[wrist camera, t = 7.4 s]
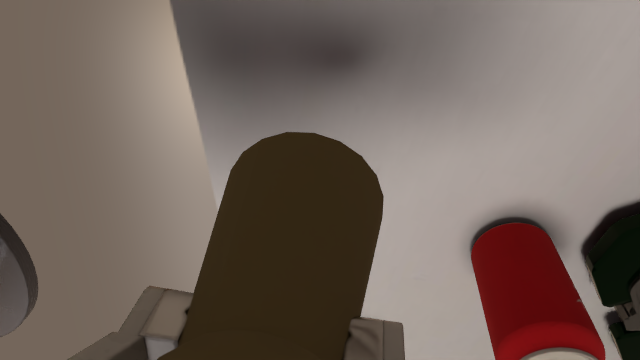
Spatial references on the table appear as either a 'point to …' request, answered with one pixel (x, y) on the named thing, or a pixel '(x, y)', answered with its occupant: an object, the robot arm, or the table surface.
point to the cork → (286, 254)
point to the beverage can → (531, 298)
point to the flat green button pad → (620, 281)
